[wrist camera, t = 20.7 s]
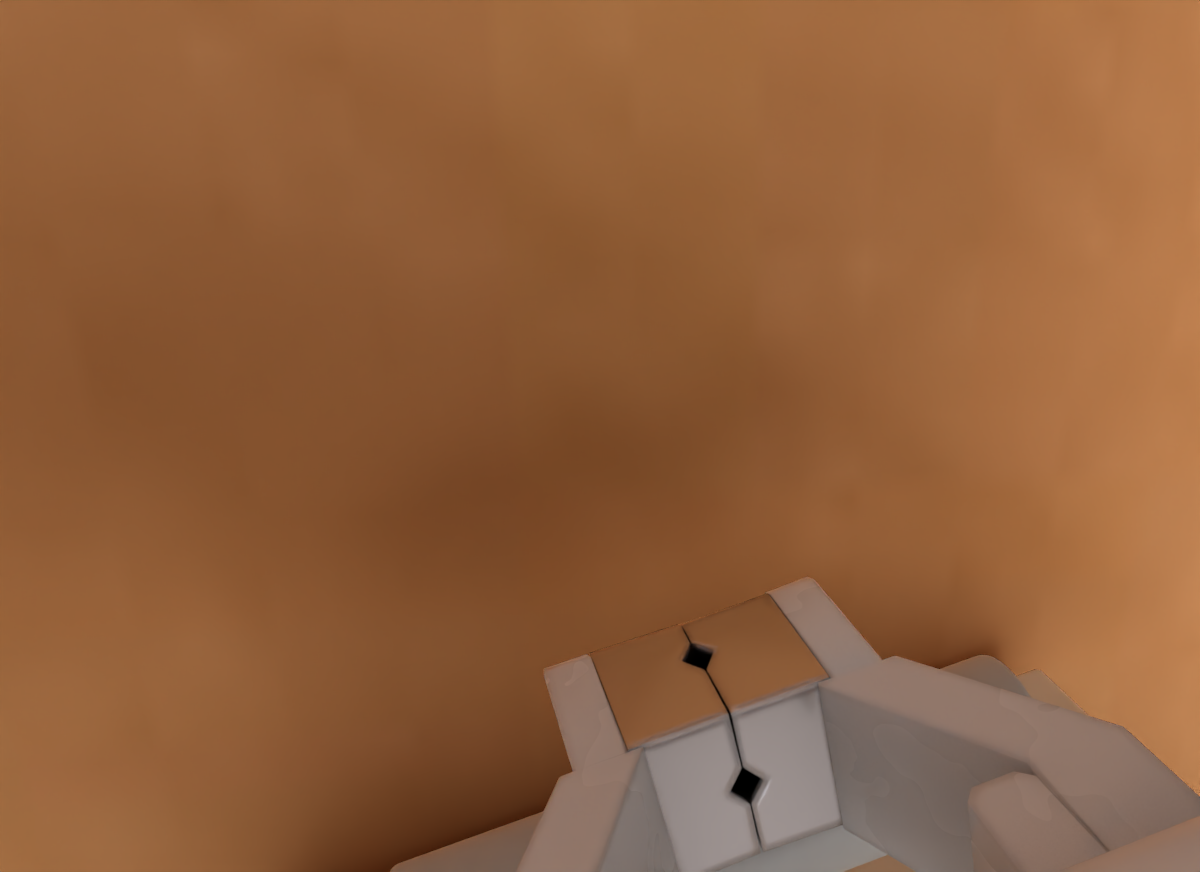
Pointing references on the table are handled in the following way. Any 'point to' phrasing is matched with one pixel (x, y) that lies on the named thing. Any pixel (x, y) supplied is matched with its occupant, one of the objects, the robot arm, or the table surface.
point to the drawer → (802, 868)
